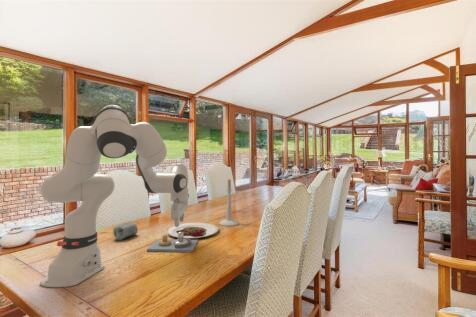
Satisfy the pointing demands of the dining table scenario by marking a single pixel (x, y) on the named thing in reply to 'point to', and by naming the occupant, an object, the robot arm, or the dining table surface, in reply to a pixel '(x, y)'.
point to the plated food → (193, 230)
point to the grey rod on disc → (229, 210)
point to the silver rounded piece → (180, 239)
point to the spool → (125, 230)
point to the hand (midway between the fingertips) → (179, 223)
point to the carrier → (172, 245)
